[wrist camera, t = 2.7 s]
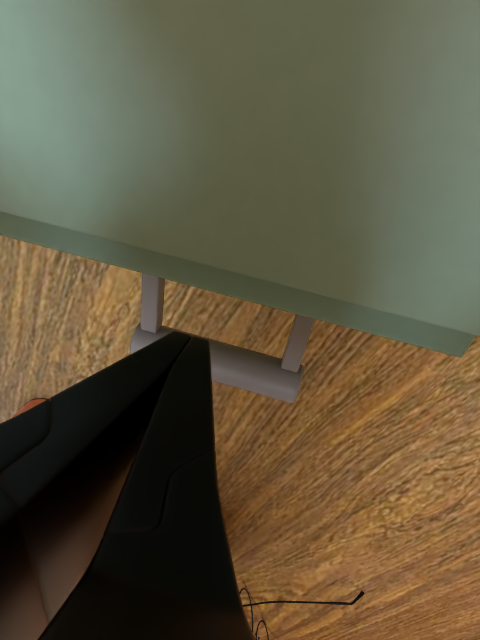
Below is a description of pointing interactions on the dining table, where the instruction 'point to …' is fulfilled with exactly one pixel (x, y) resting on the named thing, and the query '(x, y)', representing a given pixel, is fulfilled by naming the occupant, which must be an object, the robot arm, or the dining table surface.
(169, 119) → the cabinet
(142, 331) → the drawer
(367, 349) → the dining table surface
